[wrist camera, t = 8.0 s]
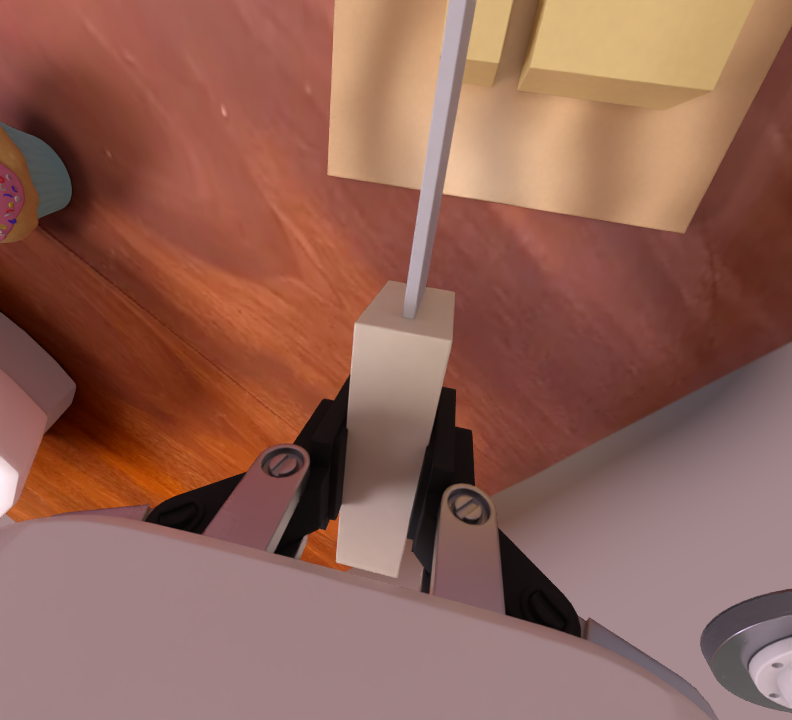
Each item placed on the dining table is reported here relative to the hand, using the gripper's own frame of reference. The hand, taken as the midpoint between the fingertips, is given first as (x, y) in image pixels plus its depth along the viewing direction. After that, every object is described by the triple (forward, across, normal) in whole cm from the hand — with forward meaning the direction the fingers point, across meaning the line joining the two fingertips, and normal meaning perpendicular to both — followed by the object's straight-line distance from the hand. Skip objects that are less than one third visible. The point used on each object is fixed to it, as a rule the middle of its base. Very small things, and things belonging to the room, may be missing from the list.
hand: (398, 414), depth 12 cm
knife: (+1, 0, -5) cm, 5 cm away
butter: (+12, -6, -14) cm, 19 cm away
